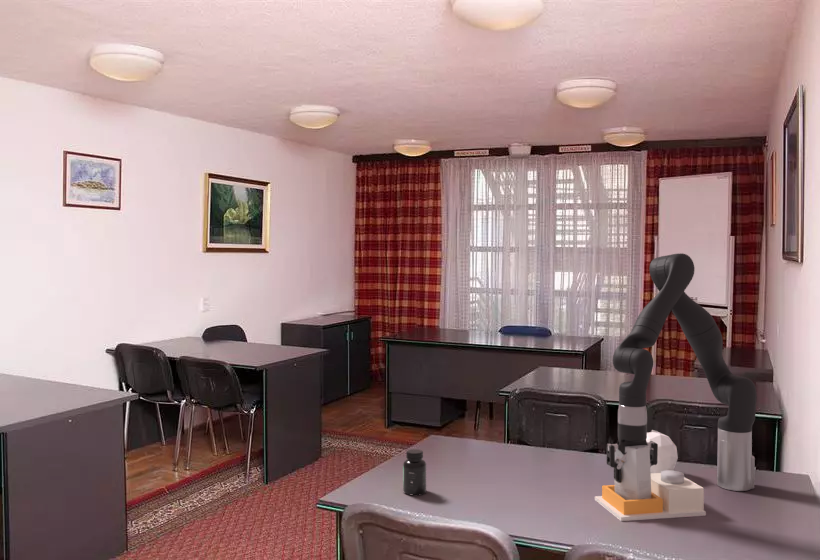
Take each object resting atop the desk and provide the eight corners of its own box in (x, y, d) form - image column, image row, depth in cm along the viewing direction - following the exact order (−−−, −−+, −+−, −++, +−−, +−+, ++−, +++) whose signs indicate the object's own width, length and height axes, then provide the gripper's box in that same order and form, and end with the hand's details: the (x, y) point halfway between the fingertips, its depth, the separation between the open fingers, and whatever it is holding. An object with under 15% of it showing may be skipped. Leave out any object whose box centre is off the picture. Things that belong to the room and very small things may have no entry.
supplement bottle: (398, 493, 200) (398, 452, 200) (409, 486, 206) (409, 446, 206) (419, 497, 197) (419, 455, 197) (430, 490, 203) (430, 449, 203)
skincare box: (651, 500, 186) (652, 446, 186) (637, 505, 183) (637, 449, 182) (626, 492, 193) (627, 439, 193) (612, 496, 190) (612, 442, 189)
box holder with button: (673, 495, 199) (673, 464, 198) (705, 515, 183) (706, 481, 183) (594, 499, 195) (594, 468, 195) (621, 521, 179) (621, 486, 179)
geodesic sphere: (623, 461, 211) (652, 425, 210) (614, 449, 225) (642, 415, 224) (663, 492, 210) (693, 456, 209) (652, 478, 224) (680, 444, 223)
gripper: (649, 416, 192) (649, 475, 193) (601, 419, 190) (601, 478, 190) (664, 423, 185) (663, 484, 185) (613, 425, 183) (613, 487, 183)
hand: (631, 480), depth 188 cm, fingers closed on skincare box, 7 cm apart
